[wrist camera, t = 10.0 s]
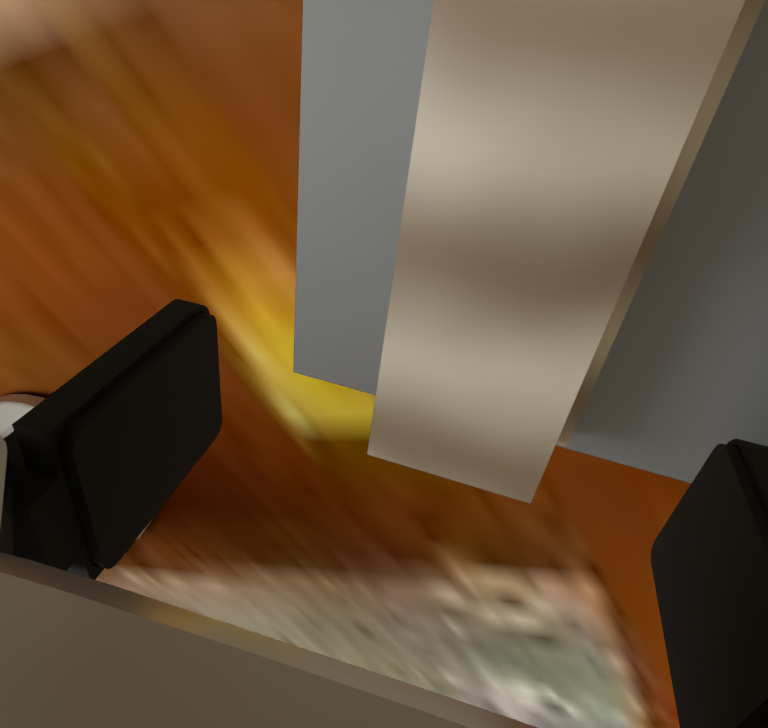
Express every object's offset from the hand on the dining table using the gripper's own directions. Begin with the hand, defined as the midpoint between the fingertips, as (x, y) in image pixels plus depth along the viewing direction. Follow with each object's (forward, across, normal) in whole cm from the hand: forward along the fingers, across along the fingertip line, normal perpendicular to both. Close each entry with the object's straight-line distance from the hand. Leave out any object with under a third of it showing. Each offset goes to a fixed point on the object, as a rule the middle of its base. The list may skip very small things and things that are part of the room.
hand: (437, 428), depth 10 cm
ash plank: (+11, -1, -1) cm, 11 cm away
